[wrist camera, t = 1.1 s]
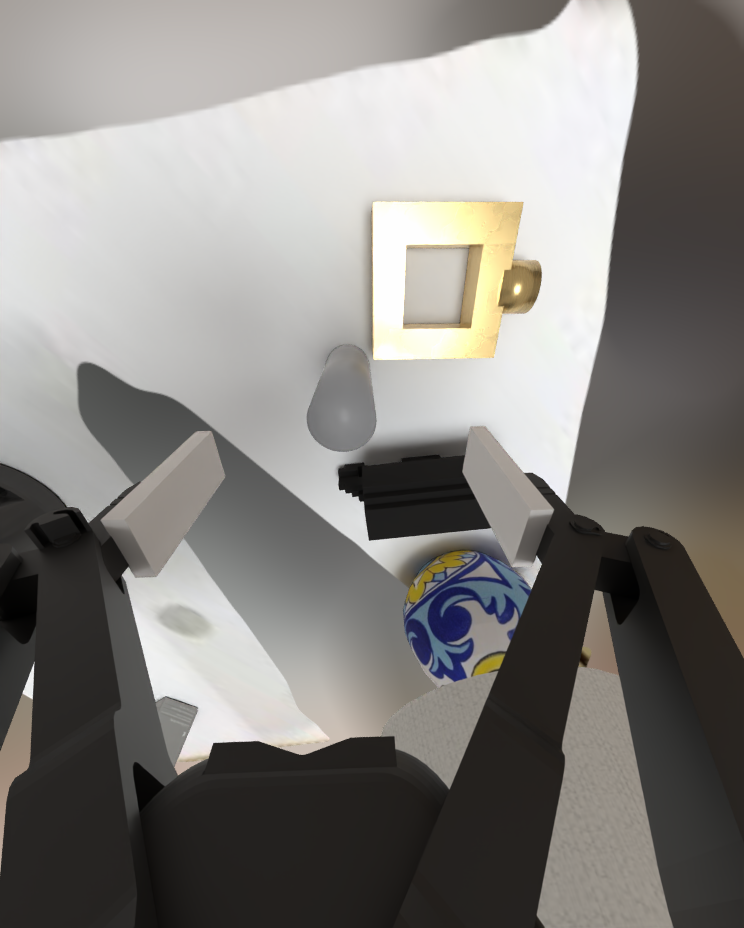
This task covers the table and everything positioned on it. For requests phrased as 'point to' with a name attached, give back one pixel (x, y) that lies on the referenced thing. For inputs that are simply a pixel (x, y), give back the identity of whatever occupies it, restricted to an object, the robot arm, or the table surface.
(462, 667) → the table lamp
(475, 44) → the table surface
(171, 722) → the skincare box
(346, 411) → the grey rounded cylinder
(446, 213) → the gold square frame
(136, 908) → the robot arm
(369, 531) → the security camera
